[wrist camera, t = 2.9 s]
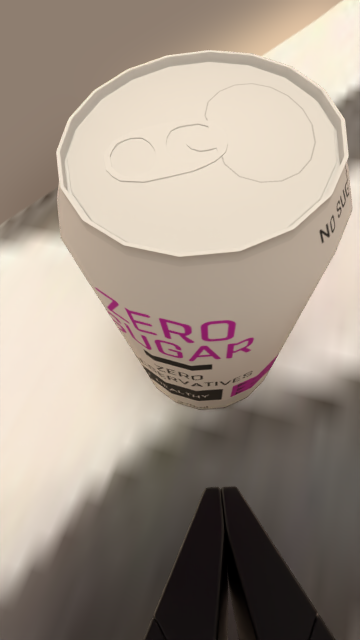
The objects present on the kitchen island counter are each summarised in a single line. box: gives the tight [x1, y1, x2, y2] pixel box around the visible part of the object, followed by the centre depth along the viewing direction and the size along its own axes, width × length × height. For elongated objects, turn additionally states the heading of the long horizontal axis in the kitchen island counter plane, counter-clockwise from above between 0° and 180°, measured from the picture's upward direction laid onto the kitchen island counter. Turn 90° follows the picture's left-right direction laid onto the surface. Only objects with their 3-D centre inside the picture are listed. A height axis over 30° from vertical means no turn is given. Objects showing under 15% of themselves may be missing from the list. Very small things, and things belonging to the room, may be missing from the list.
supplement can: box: [56, 50, 352, 409], centre depth 15 cm, size 8×8×15 cm
